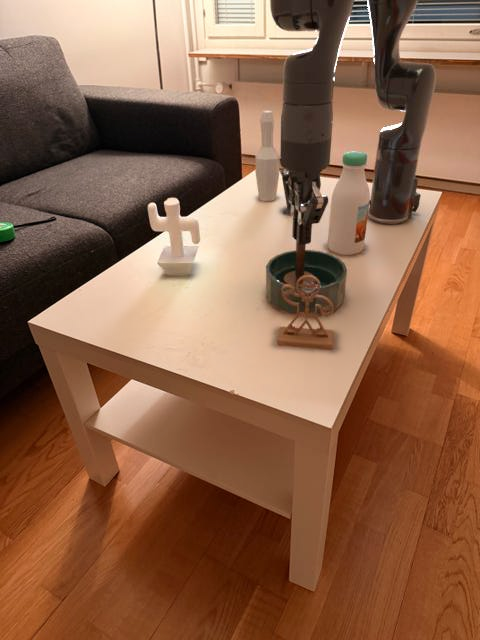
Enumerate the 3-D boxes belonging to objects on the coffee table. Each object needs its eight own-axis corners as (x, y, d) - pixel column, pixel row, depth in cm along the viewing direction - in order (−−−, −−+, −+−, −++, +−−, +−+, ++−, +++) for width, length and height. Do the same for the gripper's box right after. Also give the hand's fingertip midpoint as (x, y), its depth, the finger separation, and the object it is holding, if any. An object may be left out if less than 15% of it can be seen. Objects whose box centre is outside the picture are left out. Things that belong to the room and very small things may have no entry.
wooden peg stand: (306, 279, 87) (311, 204, 78) (319, 294, 83) (325, 216, 74) (279, 285, 86) (280, 209, 77) (290, 300, 81) (292, 221, 73)
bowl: (323, 271, 93) (325, 244, 89) (357, 309, 82) (361, 280, 78) (256, 284, 90) (255, 257, 86) (282, 325, 79) (282, 295, 75)
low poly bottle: (257, 193, 129) (255, 108, 116) (279, 194, 128) (281, 108, 115) (254, 202, 124) (252, 114, 111) (278, 202, 123) (279, 114, 110)
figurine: (200, 279, 92) (193, 207, 83) (154, 279, 93) (142, 208, 84) (205, 261, 98) (198, 193, 89) (161, 261, 99) (151, 193, 90)
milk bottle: (342, 259, 97) (351, 162, 85) (320, 245, 102) (326, 152, 91) (371, 250, 99) (384, 155, 88) (348, 236, 105) (358, 146, 93)
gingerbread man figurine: (333, 334, 76) (339, 271, 69) (332, 349, 73) (339, 284, 66) (279, 330, 77) (280, 267, 70) (276, 345, 74) (277, 280, 67)
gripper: (351, 142, 64) (339, 254, 74) (310, 121, 75) (305, 222, 85) (300, 148, 62) (296, 262, 72) (266, 126, 73) (267, 228, 83)
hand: (301, 240), depth 78 cm, fingers closed on wooden peg stand
